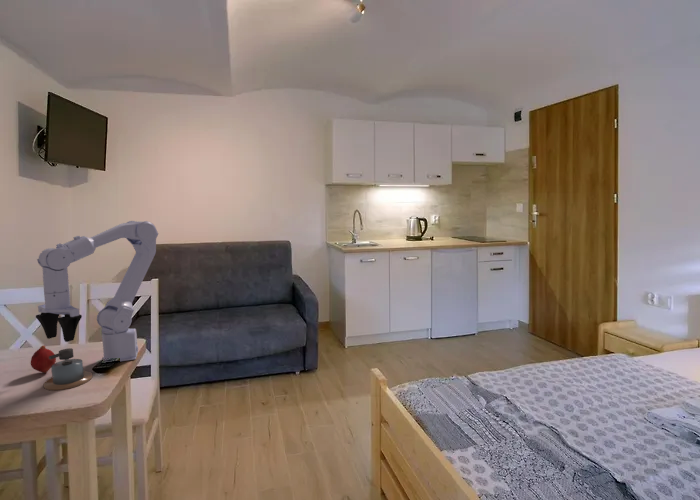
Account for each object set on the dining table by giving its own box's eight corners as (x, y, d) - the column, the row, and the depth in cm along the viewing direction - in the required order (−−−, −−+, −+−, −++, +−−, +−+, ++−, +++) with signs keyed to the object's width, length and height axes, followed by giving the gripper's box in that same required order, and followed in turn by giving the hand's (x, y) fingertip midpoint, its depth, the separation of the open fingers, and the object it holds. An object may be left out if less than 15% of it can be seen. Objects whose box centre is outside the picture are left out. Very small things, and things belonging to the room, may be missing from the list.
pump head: (75, 358, 115) (74, 347, 115) (70, 364, 111) (69, 353, 111) (54, 360, 114) (53, 350, 113) (49, 367, 109) (48, 356, 109)
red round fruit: (37, 378, 116) (34, 350, 115) (28, 374, 119) (25, 347, 118) (60, 371, 121) (58, 344, 120) (51, 367, 124) (48, 341, 123)
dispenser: (95, 370, 121) (94, 352, 120) (88, 385, 111) (86, 365, 110) (50, 377, 117) (48, 358, 116) (38, 393, 107) (36, 372, 106)
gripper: (24, 292, 115) (28, 340, 116) (58, 296, 109) (62, 346, 111) (51, 287, 121) (55, 333, 123) (85, 291, 116) (88, 339, 117)
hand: (60, 339), depth 117 cm, fingers open, 7 cm apart
